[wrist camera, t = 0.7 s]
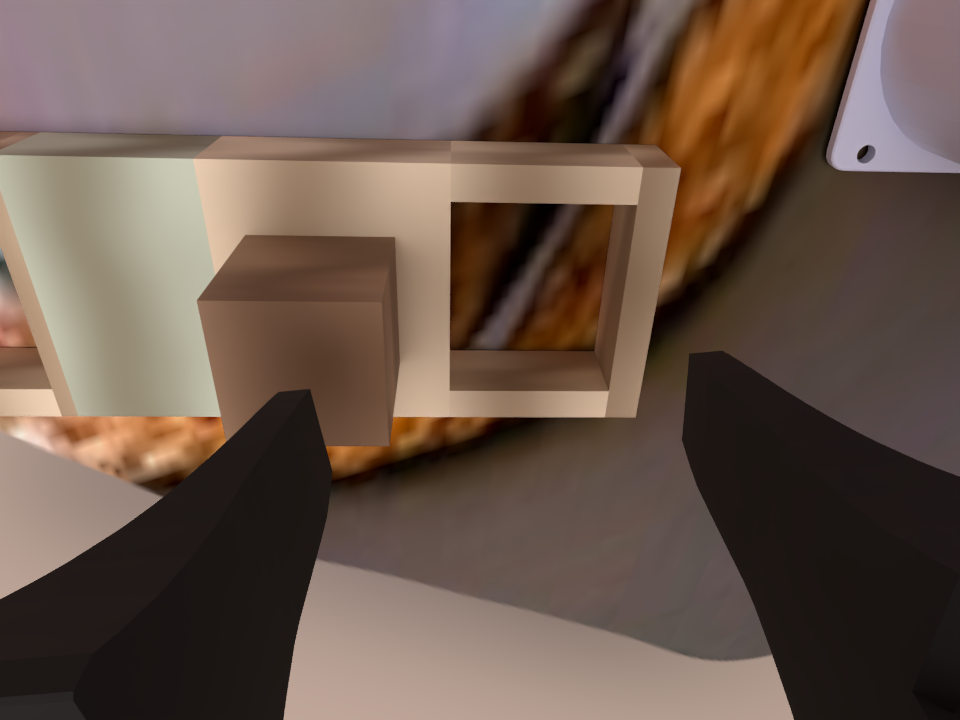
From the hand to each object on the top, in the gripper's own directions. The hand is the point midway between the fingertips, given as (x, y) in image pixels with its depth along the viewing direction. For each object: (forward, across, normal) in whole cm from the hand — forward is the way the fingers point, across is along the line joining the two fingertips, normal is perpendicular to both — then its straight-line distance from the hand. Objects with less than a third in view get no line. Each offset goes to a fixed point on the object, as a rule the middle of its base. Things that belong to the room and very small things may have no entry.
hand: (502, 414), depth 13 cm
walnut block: (+7, +5, 0) cm, 8 cm away
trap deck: (+9, +7, 0) cm, 12 cm away
